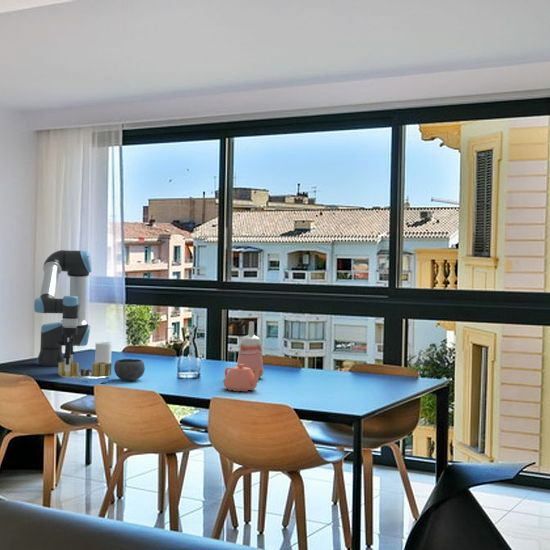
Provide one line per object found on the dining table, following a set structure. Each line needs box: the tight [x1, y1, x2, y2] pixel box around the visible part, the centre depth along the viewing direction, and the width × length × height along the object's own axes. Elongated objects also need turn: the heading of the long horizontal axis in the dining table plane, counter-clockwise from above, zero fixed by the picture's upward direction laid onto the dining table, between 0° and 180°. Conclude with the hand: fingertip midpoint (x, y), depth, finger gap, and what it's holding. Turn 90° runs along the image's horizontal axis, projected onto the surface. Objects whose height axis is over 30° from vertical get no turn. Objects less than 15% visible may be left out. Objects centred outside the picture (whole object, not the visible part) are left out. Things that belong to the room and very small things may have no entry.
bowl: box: [113, 358, 146, 382], centre depth 391 cm, size 15×15×10 cm
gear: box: [57, 361, 80, 377], centre depth 392 cm, size 10×10×6 cm
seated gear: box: [90, 361, 112, 378], centre depth 395 cm, size 10×10×6 cm
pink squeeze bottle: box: [236, 321, 264, 378], centre depth 412 cm, size 14×14×30 cm
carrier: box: [61, 367, 110, 383], centre depth 393 cm, size 24×24×6 cm
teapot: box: [222, 364, 262, 392], centre depth 372 cm, size 22×16×12 cm
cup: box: [94, 341, 113, 364], centre depth 411 cm, size 8×8×16 cm
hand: (68, 369), depth 392 cm, fingers open, 13 cm apart
